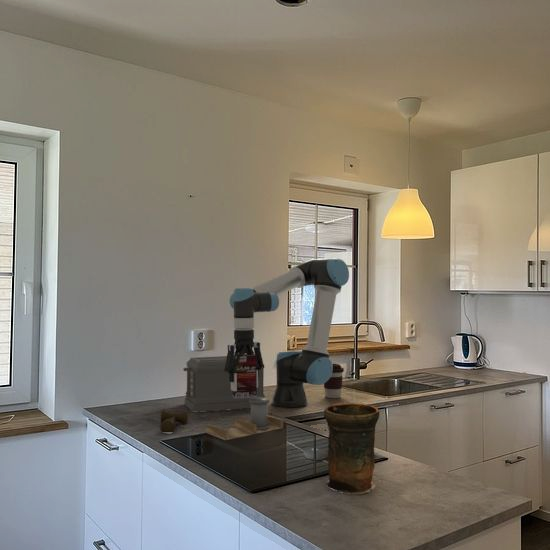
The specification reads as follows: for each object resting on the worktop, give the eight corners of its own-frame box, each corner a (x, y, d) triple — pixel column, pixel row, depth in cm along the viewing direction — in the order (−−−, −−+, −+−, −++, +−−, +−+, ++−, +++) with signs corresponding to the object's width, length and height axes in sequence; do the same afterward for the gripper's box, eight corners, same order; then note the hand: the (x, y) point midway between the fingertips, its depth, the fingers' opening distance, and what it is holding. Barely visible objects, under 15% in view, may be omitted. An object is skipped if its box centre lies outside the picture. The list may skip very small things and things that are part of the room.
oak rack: (263, 424, 207) (263, 413, 207) (282, 430, 199) (282, 419, 199) (206, 436, 191) (206, 424, 191) (225, 443, 183) (225, 430, 183)
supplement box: (234, 399, 207) (234, 356, 207) (232, 396, 212) (231, 354, 212) (257, 397, 209) (256, 355, 209) (254, 394, 214) (253, 353, 214)
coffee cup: (343, 395, 264) (343, 363, 265) (343, 399, 255) (344, 366, 255) (322, 394, 265) (322, 362, 266) (321, 398, 256) (322, 365, 256)
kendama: (152, 436, 193) (164, 420, 213) (180, 437, 193) (189, 421, 213) (153, 418, 193) (165, 404, 213) (181, 419, 193) (190, 405, 213)
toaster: (178, 404, 242) (179, 357, 242) (252, 399, 254) (253, 354, 254) (188, 413, 224) (188, 363, 225) (267, 407, 237) (267, 359, 237)
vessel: (391, 484, 146) (390, 407, 146) (360, 500, 135) (359, 418, 135) (345, 471, 155) (344, 399, 155) (313, 486, 145) (312, 409, 145)
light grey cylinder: (260, 424, 204) (260, 396, 204) (273, 428, 198) (273, 399, 199) (244, 427, 199) (244, 399, 199) (257, 431, 194) (257, 402, 194)
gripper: (260, 326, 221) (261, 383, 221) (213, 330, 206) (214, 391, 206) (272, 327, 215) (273, 386, 215) (225, 331, 201) (226, 394, 201)
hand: (244, 388), depth 211 cm, fingers closed on supplement box, 9 cm apart
